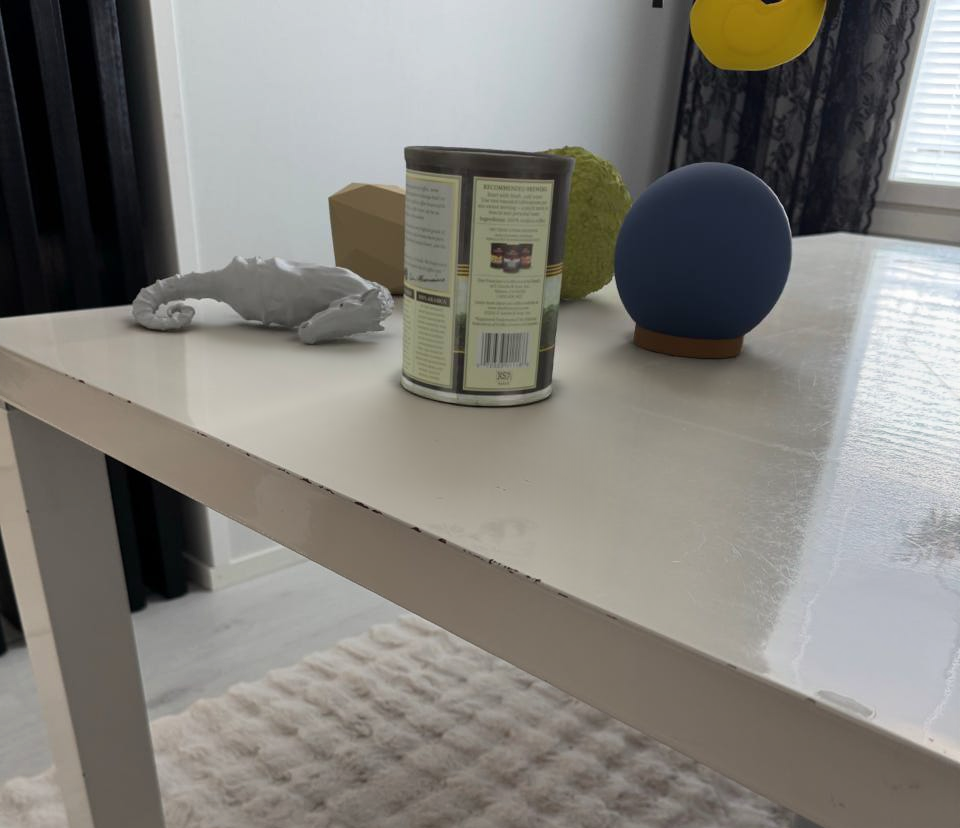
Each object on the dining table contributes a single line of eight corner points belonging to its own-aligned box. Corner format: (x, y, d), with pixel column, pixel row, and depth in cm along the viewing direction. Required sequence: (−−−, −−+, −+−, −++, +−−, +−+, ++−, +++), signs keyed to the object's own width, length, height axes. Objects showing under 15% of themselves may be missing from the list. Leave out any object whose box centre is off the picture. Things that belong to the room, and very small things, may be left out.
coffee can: (476, 361, 70) (490, 146, 64) (583, 393, 64) (611, 159, 57) (366, 378, 64) (368, 141, 57) (473, 416, 58) (490, 155, 51)
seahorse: (117, 326, 68) (397, 294, 70) (125, 246, 75) (378, 219, 77) (139, 388, 72) (403, 355, 74) (144, 306, 79) (384, 279, 81)
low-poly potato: (297, 289, 94) (322, 245, 83) (317, 183, 94) (345, 126, 84) (438, 334, 99) (480, 299, 89) (457, 234, 100) (500, 186, 89)
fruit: (440, 292, 95) (452, 142, 96) (530, 334, 106) (541, 199, 106) (572, 258, 85) (585, 89, 85) (656, 309, 95) (668, 159, 95)
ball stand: (765, 340, 86) (801, 166, 79) (778, 375, 73) (821, 173, 67) (609, 324, 87) (631, 153, 81) (596, 356, 75) (620, 157, 69)
